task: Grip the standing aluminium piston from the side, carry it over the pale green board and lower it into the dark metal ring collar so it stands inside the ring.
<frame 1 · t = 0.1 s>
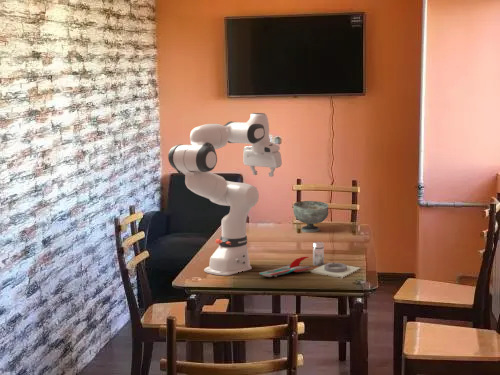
hand: (263, 175, 343), 39 cm above the table, tool pointing down, fingers open, 8 cm apart
ring plate: (335, 270, 321), on the table
bowl: (311, 230, 400), on the table
piston: (318, 264, 332), on the table
toy spaceship: (285, 273, 318), on the table, touching ring plate
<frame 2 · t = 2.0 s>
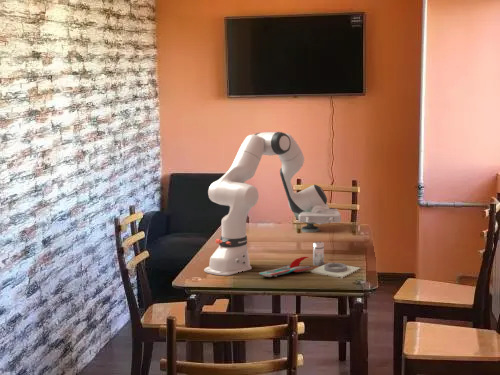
hand: (319, 221, 341), 17 cm above the table, tool horizontal, fingers open, 8 cm apart
nothing on the table moved.
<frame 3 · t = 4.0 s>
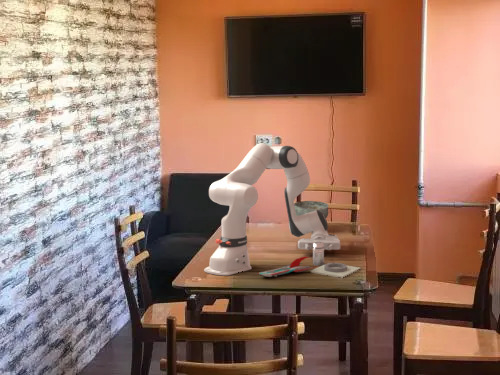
hand: (318, 248, 339), 5 cm above the table, tool horizontal, fingers open, 8 cm apart
nothing on the table moved.
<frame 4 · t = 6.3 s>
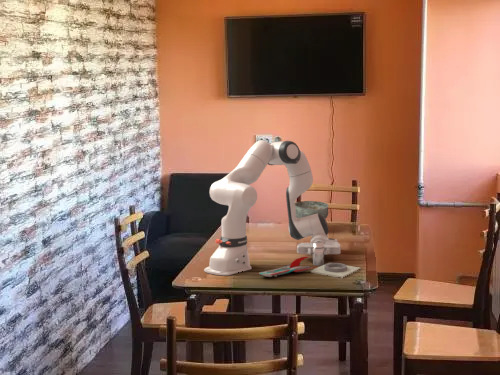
hand: (318, 253, 330), 6 cm above the table, tool horizontal, fingers closed on piston, 5 cm apart
piston: (318, 264, 332), on the table, touching gripper
everything else where it was.
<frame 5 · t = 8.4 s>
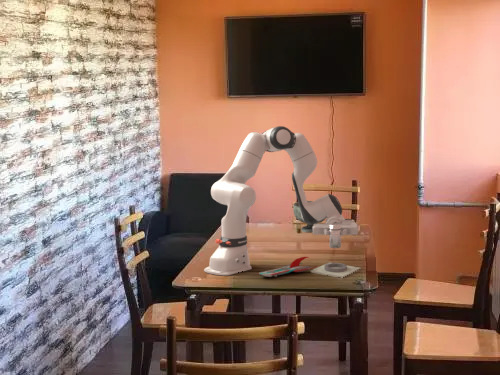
hand: (335, 233, 318), 17 cm above the table, tool horizontal, fingers closed on piston, 5 cm apart
piston: (335, 246, 320), point 11 cm above the table, touching gripper
everything else where it was.
when the fingers open (8 cm above the table, at t = 10.7 s): piston stays where it is, resting on ring plate.
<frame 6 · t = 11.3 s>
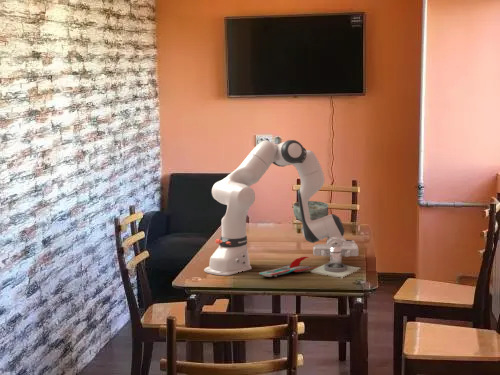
hand: (335, 254, 319), 8 cm above the table, tool horizontal, fingers open, 8 cm apart
piston: (335, 269, 321), point 1 cm above the table, touching ring plate
everything else where it was.
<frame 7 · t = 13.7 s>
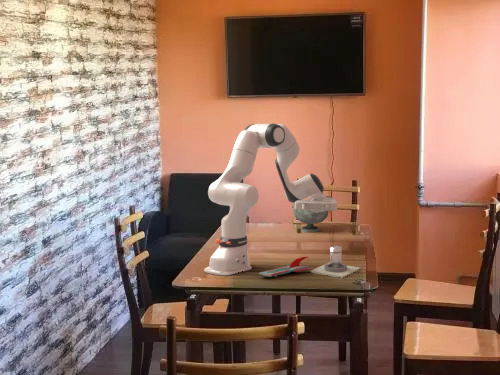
hand: (315, 208, 338), 24 cm above the table, tool horizontal, fingers open, 8 cm apart
nothing on the table moved.
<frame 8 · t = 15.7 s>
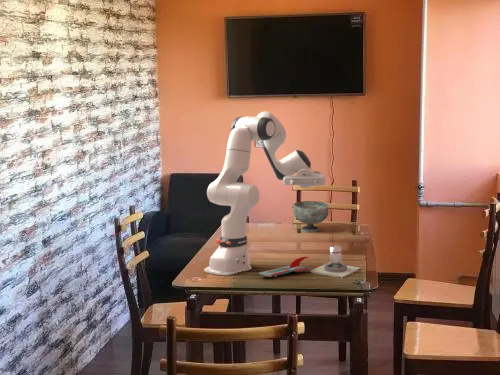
hand: (303, 183, 343), 35 cm above the table, tool horizontal, fingers open, 8 cm apart
nothing on the table moved.
at the end: piston 0.2 cm from the ring plate (horizontally); piston point 0.9 cm above the table; piston tilted 1° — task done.
